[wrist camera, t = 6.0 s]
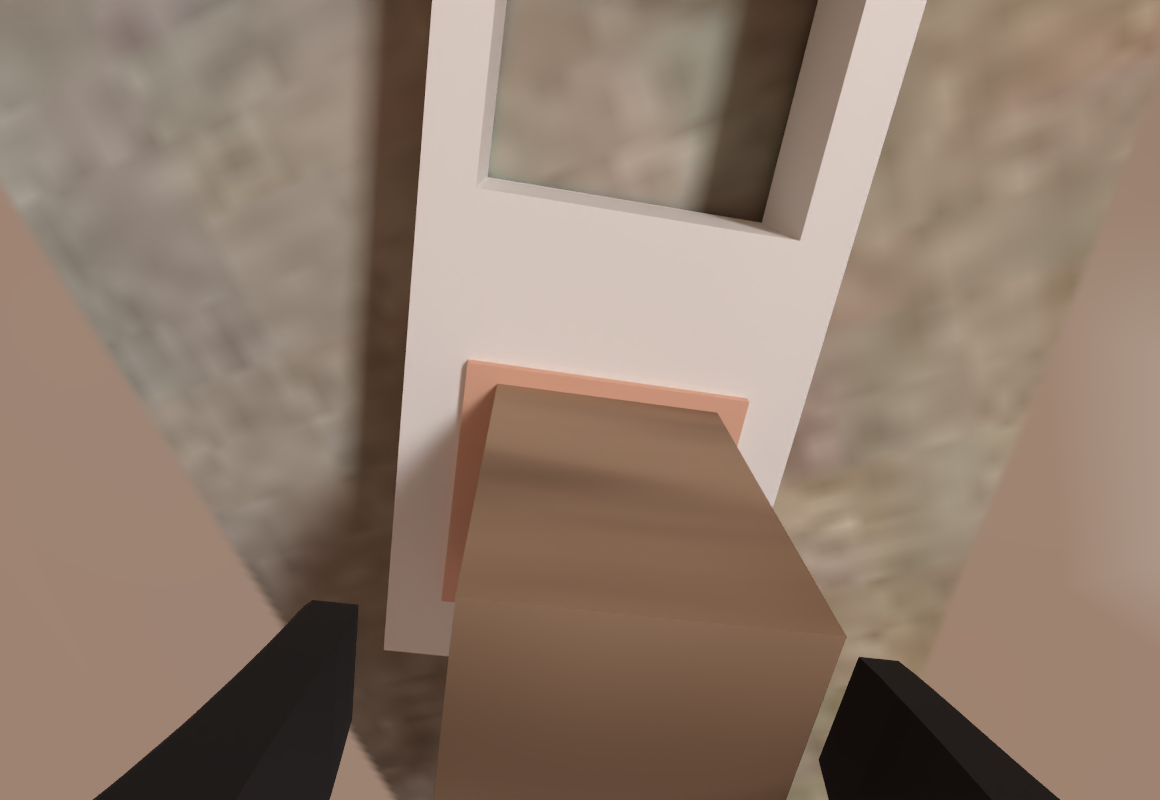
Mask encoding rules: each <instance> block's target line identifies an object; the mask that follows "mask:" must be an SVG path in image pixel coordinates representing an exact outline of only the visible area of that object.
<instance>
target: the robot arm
mask: <svg viewBox="0 0 1160 800" xmlns="http://www.w3.org/2000/svg"><path fill="white" fill-rule="evenodd" d="M357 620H358V605H354V604H344V603H335V602H325V601H315V600H312V601H311V602H310V603H308V604H307V605H305V606H304V607H303V608H302V609H301V610H300V611H299V612H298V613H297V614H296V615H295V616H294V617H293V618H292V619H291V621H290V622H289V623H288V624H287V625H286V626H285V627H284V628H283V629H282V630H281V631H280V632H279V633H278V634H277V635H276V636H275V637H274V638H273V639H272V640H271V641H270V642H269V643H268V644H267V645H266V646H265V647H264V648H263V649H262V650H261V651H260V652H259V653H258V654H257V655H256V656H255V657H254V658H253V659H252V660H251V661H250V662H249V663H248V664H247V665H246V666H245V667H244V668H243V669H242V670H241V671H240V672H239V673H238V674H237V675H236V676H235V677H234V678H233V679H232V680H230V681H229V682H228V683H227V684H226V685H225V686H224V687H223V688H222V689H221V690H220V691H218V692H217V693H216V694H215V695H214V696H213V697H212V698H211V699H210V700H209V701H208V702H207V703H206V704H205V705H203V706H202V707H201V708H200V709H199V710H198V711H197V712H196V713H195V714H194V715H193V716H192V717H191V718H189V719H188V720H187V721H186V722H185V723H184V724H183V725H182V726H180V727H179V728H178V729H177V730H176V731H175V732H173V733H172V734H171V735H170V736H169V737H168V738H166V739H165V740H164V741H163V742H162V743H161V744H159V745H158V746H157V747H156V748H155V749H153V750H152V751H151V752H150V753H149V754H148V755H147V756H145V757H144V758H143V759H142V760H141V761H139V762H138V763H137V764H136V765H135V766H134V767H132V768H131V769H130V770H129V771H128V772H126V773H125V774H124V775H123V776H122V777H121V778H119V779H118V780H117V781H116V782H114V783H113V784H112V785H111V786H110V787H108V788H107V789H106V790H104V791H103V792H102V793H101V794H99V795H98V796H97V797H96V798H94V799H93V800H329V799H330V796H331V793H332V789H333V786H334V782H335V779H336V775H337V772H338V768H339V765H340V761H341V757H342V753H343V750H344V746H345V742H346V739H347V735H348V731H349V728H350V724H351V720H352V708H353V691H354V673H355V655H356V637H357ZM819 763H820V767H821V771H822V775H823V779H824V782H825V786H826V790H827V794H828V798H829V800H1060V799H1059V798H1057V797H1056V796H1055V795H1054V794H1053V793H1051V792H1050V791H1049V790H1048V789H1047V788H1046V787H1045V786H1043V785H1042V784H1041V783H1040V782H1039V781H1038V780H1036V779H1035V778H1034V777H1033V776H1032V775H1030V774H1029V773H1028V772H1027V771H1026V770H1025V769H1024V768H1022V767H1021V766H1020V765H1019V764H1018V763H1016V761H1014V760H1013V759H1012V758H1011V757H1010V756H1009V755H1008V754H1006V753H1005V752H1004V751H1003V750H1002V749H1001V748H1000V747H998V746H997V745H996V744H995V743H994V742H992V740H990V739H989V738H988V737H987V736H986V735H985V734H984V733H982V732H981V731H980V730H979V729H978V728H977V727H976V726H974V725H973V724H972V723H971V722H970V721H969V720H968V719H967V718H965V717H964V716H963V715H962V714H961V713H960V712H959V711H957V710H956V709H955V708H954V707H953V706H952V705H950V704H949V703H948V702H947V701H946V700H945V699H944V698H942V697H941V696H940V695H939V694H938V693H937V692H935V691H934V690H933V689H932V688H931V687H929V685H927V684H926V683H925V682H924V681H923V680H921V679H920V678H919V677H918V676H917V675H915V674H914V673H913V672H912V671H910V670H909V669H908V668H907V667H905V666H904V665H903V664H901V663H900V662H899V661H892V660H883V659H873V658H864V657H859V658H858V661H857V663H856V666H855V668H854V671H853V673H852V676H851V679H850V681H849V684H848V686H847V689H846V691H845V694H844V696H843V699H842V702H841V704H840V707H839V709H838V712H837V714H836V717H835V719H834V722H833V725H832V727H831V730H830V732H829V735H828V737H827V740H826V742H825V745H824V748H823V750H822V753H821V755H820V758H819Z"/></svg>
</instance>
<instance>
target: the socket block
mask: <svg viewBox="0 0 1160 800" xmlns="http://www.w3.org/2000/svg"><path fill="white" fill-rule="evenodd" d="M926 1H927V0H818V3H817V7H816V10H815V14H814V18H813V22H812V26H811V30H810V34H809V38H808V42H807V46H806V50H805V54H804V58H803V62H802V66H801V70H800V74H799V78H798V82H797V86H796V89H795V93H794V97H793V101H792V105H791V109H790V113H789V117H788V121H787V125H786V129H785V133H784V137H783V141H782V145H781V149H780V153H779V157H778V161H777V164H776V168H775V172H774V176H773V180H772V184H771V188H770V192H769V196H768V200H767V204H766V208H765V212H764V216H763V220H762V223H761V222H755V221H749V220H743V219H737V218H731V217H725V216H719V215H713V214H707V213H701V212H695V211H689V210H683V209H677V208H671V207H665V206H659V205H653V204H647V203H641V202H635V201H629V200H623V199H616V198H610V197H604V196H598V195H592V194H586V193H580V192H574V191H568V190H562V189H556V188H550V187H544V186H538V185H532V184H526V183H520V182H514V181H508V180H502V179H496V178H490V177H488V169H489V159H490V150H491V141H492V132H493V123H494V114H495V105H496V95H497V86H498V77H499V68H500V59H501V50H502V41H503V31H504V22H505V13H506V4H507V0H432V9H431V23H430V36H429V49H428V63H427V76H426V89H425V103H424V116H423V130H422V143H421V156H420V170H419V183H418V196H417V210H416V223H415V237H414V250H413V263H412V277H411V290H410V304H409V317H408V330H407V344H406V357H405V370H404V384H403V397H402V411H401V424H400V437H399V451H398V464H397V478H396V491H395V504H394V518H393V531H392V544H391V558H390V571H389V585H388V598H387V611H386V625H385V638H384V650H389V651H399V652H409V653H419V654H429V655H440V656H449V650H450V641H451V632H452V623H453V614H454V605H455V596H456V591H457V586H458V581H459V576H460V571H461V566H462V561H463V556H464V551H465V545H466V540H467V535H468V530H469V525H470V520H471V515H472V510H473V505H474V500H475V495H476V490H477V485H478V480H479V475H480V469H481V464H482V459H483V454H484V449H485V444H486V439H487V434H488V429H489V424H490V419H491V414H492V409H493V404H494V399H495V393H496V388H497V384H505V385H512V386H520V387H527V388H535V389H543V390H550V391H558V392H565V393H573V394H580V395H588V396H596V397H603V398H611V399H618V400H626V401H633V402H641V403H648V404H656V405H664V406H671V407H679V408H686V409H694V410H701V411H709V412H717V413H718V415H719V416H720V418H721V420H722V422H723V423H724V425H725V427H726V429H727V430H728V432H729V434H730V435H731V437H732V439H733V441H734V442H735V444H736V446H737V448H738V449H739V451H740V453H741V455H742V456H743V458H744V460H745V461H746V463H747V465H748V467H749V468H750V470H751V472H752V474H753V475H754V477H755V479H756V481H757V482H758V484H759V486H760V487H761V489H762V491H763V493H764V494H765V496H766V498H767V500H768V501H769V503H770V505H771V507H772V508H773V505H774V502H775V499H776V496H777V492H778V489H779V486H780V482H781V479H782V476H783V472H784V469H785V466H786V463H787V459H788V456H789V453H790V449H791V446H792V443H793V440H794V436H795V433H796V430H797V426H798V423H799V420H800V416H801V413H802V410H803V407H804V403H805V400H806V397H807V393H808V390H809V387H810V384H811V380H812V377H813V374H814V370H815V367H816V364H817V361H818V357H819V354H820V351H821V347H822V344H823V341H824V337H825V334H826V331H827V328H828V324H829V321H830V318H831V314H832V311H833V308H834V305H835V301H836V298H837V295H838V291H839V288H840V285H841V281H842V278H843V275H844V272H845V268H846V265H847V262H848V258H849V255H850V252H851V249H852V245H853V242H854V239H855V235H856V232H857V229H858V225H859V222H860V219H861V216H862V212H863V209H864V206H865V202H866V199H867V196H868V193H869V189H870V186H871V183H872V179H873V176H874V173H875V169H876V166H877V163H878V160H879V156H880V153H881V150H882V146H883V143H884V140H885V137H886V133H887V130H888V127H889V123H890V120H891V117H892V113H893V110H894V107H895V104H896V100H897V97H898V94H899V90H900V87H901V84H902V81H903V77H904V74H905V71H906V67H907V64H908V61H909V57H910V54H911V51H912V48H913V44H914V41H915V38H916V34H917V31H918V28H919V25H920V21H921V18H922V15H923V11H924V8H925V5H926Z"/></svg>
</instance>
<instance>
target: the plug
mask: <svg viewBox="0 0 1160 800" xmlns="http://www.w3.org/2000/svg"><path fill="white" fill-rule="evenodd" d="M845 639H846V635H845V633H844V631H843V630H842V628H841V626H840V625H839V623H838V621H837V619H836V618H835V616H834V614H833V612H832V611H831V609H830V607H829V605H828V604H827V602H826V600H825V599H824V597H823V595H822V593H821V592H820V590H819V588H818V586H817V585H816V583H815V581H814V579H813V578H812V576H811V574H810V572H809V571H808V569H807V567H806V566H805V564H804V562H803V560H802V559H801V557H800V555H799V553H798V552H797V550H796V548H795V546H794V545H793V543H792V541H791V540H790V538H789V536H788V534H787V533H786V531H785V529H784V527H783V526H782V524H781V522H780V520H779V519H778V517H777V515H776V514H775V512H774V510H773V508H772V507H771V505H770V503H769V501H768V500H767V498H766V496H765V494H764V493H763V491H762V489H761V487H760V486H759V484H758V482H757V481H756V479H755V477H754V475H753V474H752V472H751V470H750V468H749V467H748V465H747V463H746V461H745V460H744V458H743V456H742V455H741V453H740V451H739V449H738V448H737V446H736V444H735V442H734V441H733V439H732V437H731V435H730V434H729V432H728V430H727V429H726V427H725V425H724V423H723V422H722V420H721V418H720V416H719V415H718V413H717V412H709V411H701V410H694V409H686V408H679V407H671V406H664V405H656V404H648V403H641V402H633V401H626V400H618V399H611V398H603V397H596V396H588V395H580V394H573V393H565V392H558V391H550V390H543V389H535V388H527V387H520V386H512V385H505V384H497V388H496V393H495V399H494V404H493V409H492V414H491V419H490V424H489V429H488V434H487V439H486V444H485V449H484V454H483V459H482V464H481V469H480V475H479V480H478V485H477V490H476V495H475V500H474V505H473V510H472V515H471V520H470V525H469V530H468V535H467V540H466V545H465V551H464V556H463V561H462V566H461V571H460V576H459V581H458V586H457V591H456V596H455V605H454V614H453V623H452V632H451V641H450V650H449V659H448V668H447V677H446V686H445V695H444V704H443V713H442V722H441V731H440V739H439V748H438V757H437V766H436V775H435V784H434V793H433V800H786V798H787V796H788V793H789V790H790V788H791V785H792V782H793V779H794V777H795V774H796V771H797V769H798V766H799V763H800V761H801V758H802V755H803V752H804V750H805V747H806V744H807V742H808V739H809V736H810V734H811V731H812V728H813V725H814V723H815V720H816V717H817V715H818V712H819V709H820V707H821V704H822V701H823V699H824V696H825V693H826V690H827V688H828V685H829V682H830V680H831V677H832V674H833V672H834V669H835V666H836V663H837V661H838V658H839V655H840V653H841V650H842V647H843V645H844V642H845Z"/></svg>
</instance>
